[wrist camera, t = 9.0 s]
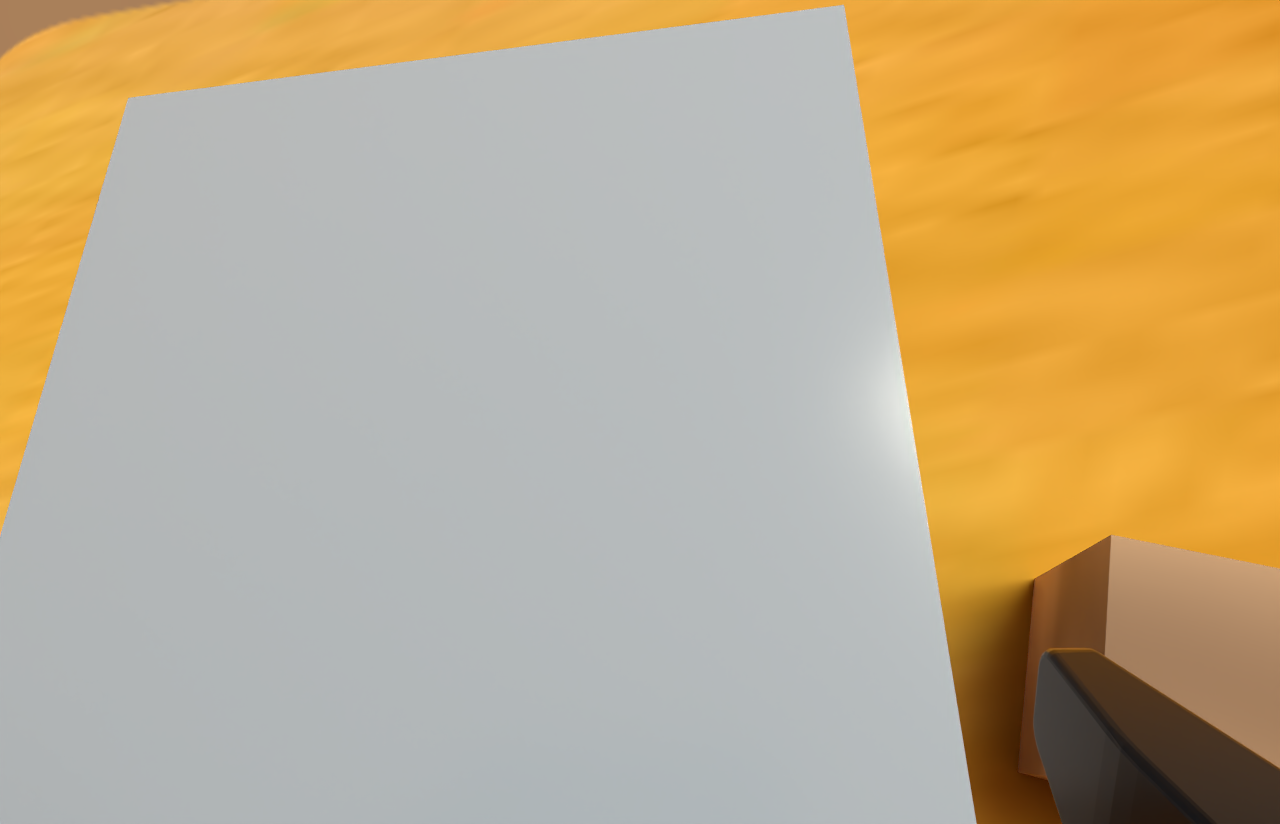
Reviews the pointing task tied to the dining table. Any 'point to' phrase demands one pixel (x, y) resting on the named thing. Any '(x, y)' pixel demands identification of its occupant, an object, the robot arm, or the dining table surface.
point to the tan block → (1167, 633)
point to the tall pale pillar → (484, 457)
